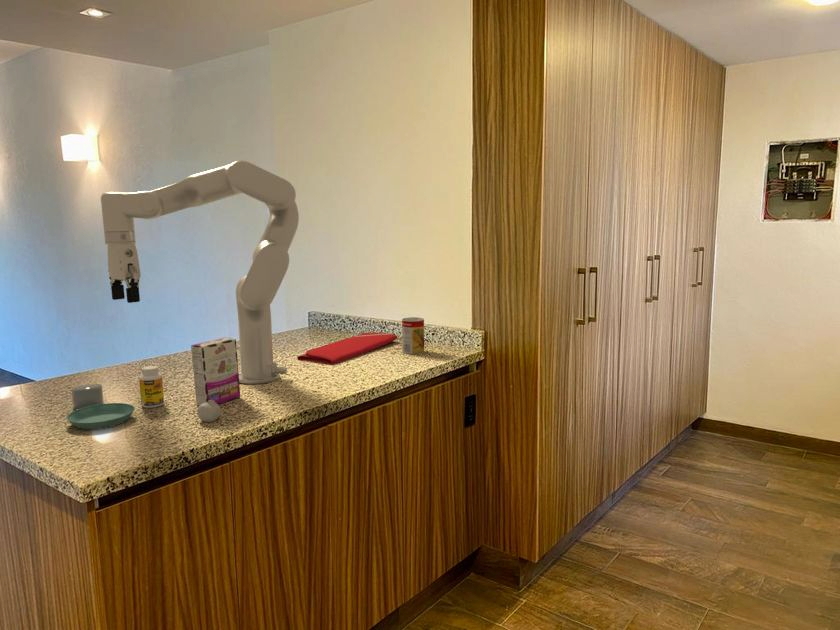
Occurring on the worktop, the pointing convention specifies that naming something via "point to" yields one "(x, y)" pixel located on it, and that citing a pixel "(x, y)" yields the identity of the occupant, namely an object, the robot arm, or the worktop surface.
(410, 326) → the canned food
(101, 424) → the saucer
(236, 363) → the candy bar box
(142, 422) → the worktop surface
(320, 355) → the dish drying mat
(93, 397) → the grey short cylinder
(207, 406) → the garlic
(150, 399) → the supplement bottle
